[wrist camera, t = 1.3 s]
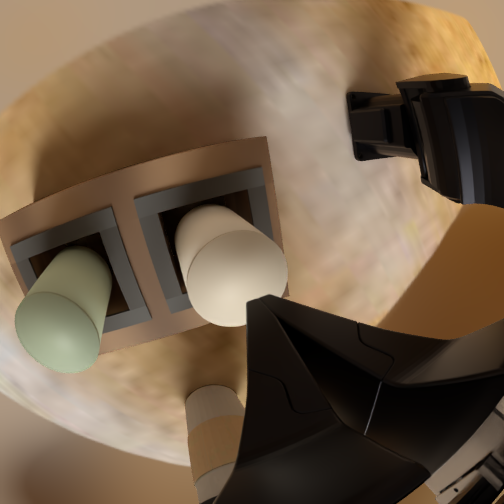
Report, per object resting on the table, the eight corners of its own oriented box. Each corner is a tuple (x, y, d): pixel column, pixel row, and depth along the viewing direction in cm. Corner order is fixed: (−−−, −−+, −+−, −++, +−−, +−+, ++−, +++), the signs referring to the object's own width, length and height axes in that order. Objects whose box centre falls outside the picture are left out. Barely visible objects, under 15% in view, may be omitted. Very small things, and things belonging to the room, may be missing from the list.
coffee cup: (169, 425, 27) (199, 536, 14) (170, 373, 24) (206, 515, 11) (243, 420, 30) (291, 515, 17) (259, 369, 28) (328, 483, 15)
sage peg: (97, 236, 13) (71, 282, 8) (122, 299, 15) (115, 363, 10) (40, 257, 12) (-1, 306, 7) (67, 315, 14) (46, 378, 9)
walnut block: (234, 140, 19) (267, 136, 14) (256, 261, 23) (290, 297, 18) (33, 202, 15) (-7, 223, 10) (78, 316, 19) (63, 365, 14)
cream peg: (237, 195, 15) (281, 219, 10) (249, 260, 17) (292, 307, 12) (166, 214, 14) (173, 249, 9) (185, 280, 16) (203, 338, 11)
